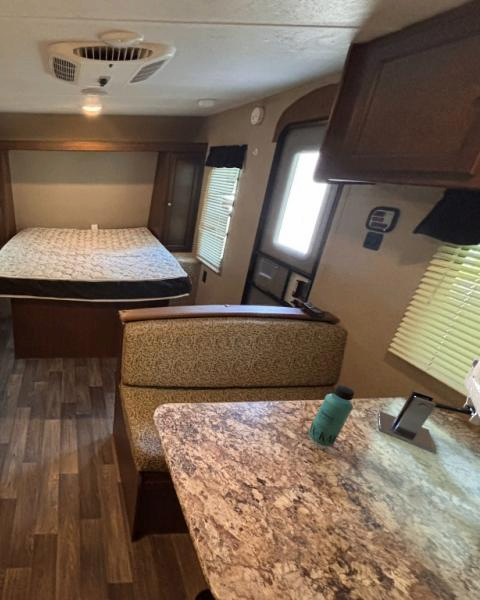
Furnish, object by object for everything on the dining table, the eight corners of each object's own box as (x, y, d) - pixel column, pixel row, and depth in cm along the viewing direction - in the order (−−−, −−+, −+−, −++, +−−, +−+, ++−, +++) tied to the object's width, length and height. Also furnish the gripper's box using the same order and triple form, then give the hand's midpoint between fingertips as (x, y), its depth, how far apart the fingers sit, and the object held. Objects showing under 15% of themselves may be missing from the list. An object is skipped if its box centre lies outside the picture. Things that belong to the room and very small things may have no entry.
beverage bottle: (309, 429, 98) (334, 377, 90) (335, 443, 93) (363, 390, 85) (302, 440, 94) (327, 386, 86) (328, 455, 89) (357, 400, 81)
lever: (473, 412, 90) (475, 405, 89) (477, 422, 86) (480, 415, 85) (412, 399, 97) (414, 392, 97) (414, 408, 94) (416, 401, 93)
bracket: (427, 432, 99) (450, 398, 94) (431, 452, 92) (457, 416, 87) (377, 413, 106) (396, 380, 101) (378, 430, 99) (398, 396, 93)
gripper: (533, 402, 74) (498, 444, 79) (506, 365, 88) (477, 403, 94) (493, 389, 77) (461, 431, 83) (473, 355, 92) (447, 393, 97)
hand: (470, 416), depth 88 cm, fingers closed on lever, 5 cm apart
